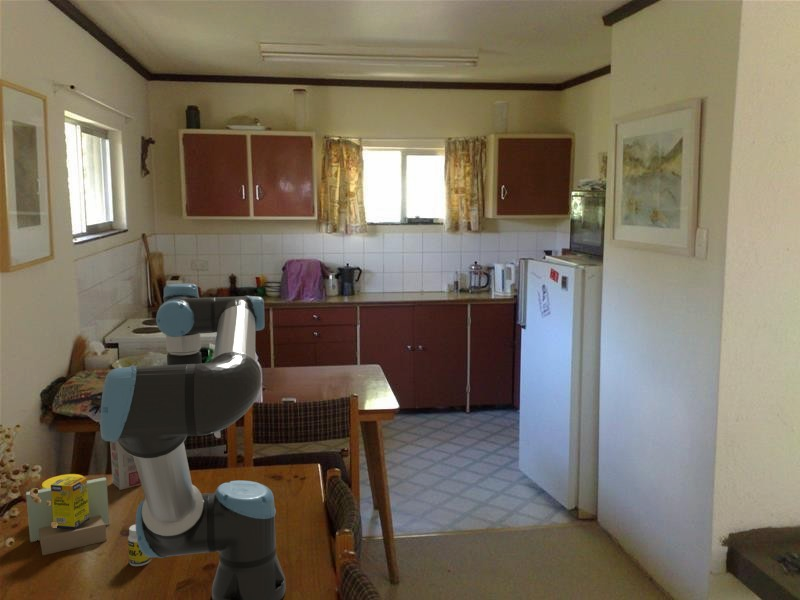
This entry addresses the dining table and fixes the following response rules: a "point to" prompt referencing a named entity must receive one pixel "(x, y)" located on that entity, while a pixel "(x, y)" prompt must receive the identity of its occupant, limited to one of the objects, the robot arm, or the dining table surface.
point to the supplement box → (70, 502)
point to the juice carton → (123, 468)
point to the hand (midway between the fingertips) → (188, 441)
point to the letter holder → (69, 538)
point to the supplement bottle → (135, 549)
